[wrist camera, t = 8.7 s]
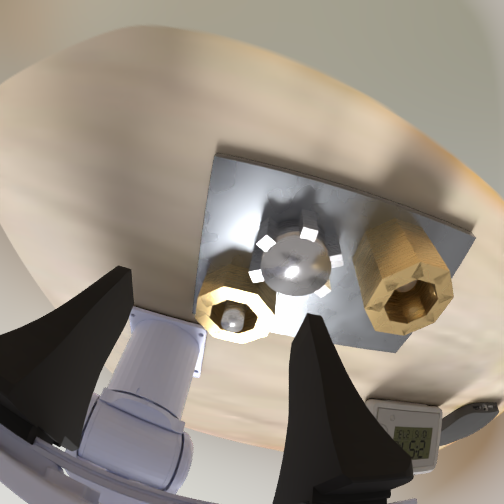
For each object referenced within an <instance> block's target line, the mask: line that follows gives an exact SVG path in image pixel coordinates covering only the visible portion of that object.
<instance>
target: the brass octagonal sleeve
mask: <svg viewBox="0 0 504 504" xmlns="http://www.w3.org/2000/svg"><path fill="white" fill-rule="evenodd" d="M352 260H353V264H354V268H355V272H356V276H357V280H358V284H359V288H360V292H361V296H362V300H363V305H364V309H365V311H366V313H367V315H368V317H369V319H370V321H371V323H372V325H373V327H374V330H375V331H378V332H384V333H390V334H396V335H403V336H404V335H407V334H409V333H411V332H414V331H416V330H418V329H421V328H423V327H425V326H428V325H430V324H432V323H434V322H435V321H436V320H437V319H438V317H439V316H440V315H441V314H442V312H443V311H444V310H445V308H446V307H447V305H448V304H449V303H450V301H451V300H452V299H453V297H454V295H453V288H452V282H451V276H450V271H449V269H448V267H447V266H446V264H445V262H444V261H443V259H442V258H441V256H440V254H439V253H438V251H437V250H436V248H435V246H434V245H433V243H432V242H431V240H430V239H429V237H428V236H427V234H426V233H425V231H424V230H423V228H422V227H420V226H417V225H414V224H411V223H409V222H406V221H403V220H400V219H397V218H393V219H391V220H389V221H387V222H385V223H383V224H381V225H378V226H376V227H374V228H372V229H370V230H368V231H366V232H365V233H364V235H363V237H362V239H361V241H360V243H359V246H358V248H357V250H356V252H355V254H354V256H353V258H352ZM416 279H417V282H416V284H415V286H414V287H413V288H412V289H411V290H409V291H407V292H398V291H397V290H396V288H399V287H401V286H403V285H405V284H408V283H410V282H412V281H414V280H416Z"/></svg>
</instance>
